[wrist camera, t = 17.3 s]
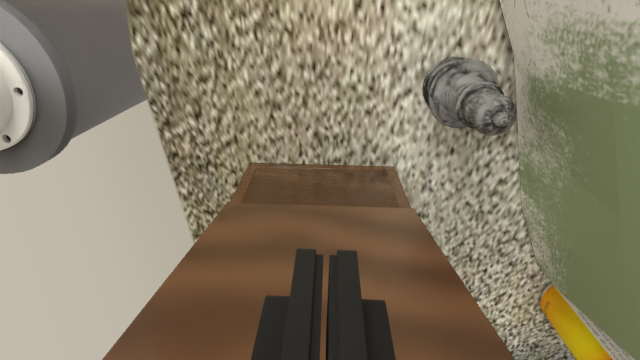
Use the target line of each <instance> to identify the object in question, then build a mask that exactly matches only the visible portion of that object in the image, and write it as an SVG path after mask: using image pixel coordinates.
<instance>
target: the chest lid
mask: <svg viewBox="0 0 640 360" xmlns="http://www.w3.org/2000/svg"><path fill="white" fill-rule="evenodd" d="M297 248H302V249H316V254H322V255H323V281H322V310H321V338H320V360H326V323H327V301H328V279H329V257H330V255H337V250H353V251H357V257H358V267H359V277H360V287H361V297H362V299H368V300H384V301H385V303H386V307H387V313H388V318H389V324H390V330H391V335H392V341H393V346H394V352H395V358H396V360H515V359H514V358H513V356H512V355H511V353H510V352H509V350H508V349H507V347H506V346H505V344H504V343H503V341H502V340H501V338H500V337H499V335H498V334H497V332H496V331H495V329H494V328H493V327H492V325H491V324H490V322H489V321H488V319H487V318H486V316H485V315H484V313H483V312H482V310H481V309H480V307H479V306H478V304H477V303H476V301H475V300H474V298H473V297H472V295H471V294H470V292H469V291H468V289H467V288H466V286H465V285H464V283H463V282H462V280H461V279H460V277H459V276H458V274H457V273H456V271H455V270H454V268H453V267H452V265H451V264H450V262H449V261H448V259H447V258H446V256H445V255H444V253H443V252H442V250H441V249H440V247H439V246H438V245H437V243H436V242H435V240H434V239H433V237H432V236H431V234H430V233H429V231H428V230H427V228H426V227H425V225H424V224H423V222H422V221H421V219H420V218H419V216H418V215H417V213H416V212H415V210H414V209H413V208H385V207H349V206H314V205H278V204H242V203H227V204H226V205H225V206H224V208H223V209H222V210H221V211H220V213H219V214H218V215H217V216H216V218H215V219H214V220H213V221H212V223H211V224H210V225H209V226H208V228H207V229H206V230H205V231H204V233H203V234H202V235H201V236H200V238H199V239H198V240H197V241H196V243H195V244H194V245H193V247H192V248H191V249H190V250H189V252H188V253H187V254H186V255H185V257H184V258H183V259H182V260H181V262H180V263H179V264H178V265H177V267H176V268H175V269H174V270H173V272H172V273H171V274H170V275H169V277H168V278H167V279H166V280H165V282H164V283H163V284H162V286H161V287H160V288H159V289H158V290H157V292H156V293H155V294H154V296H153V297H152V298H151V299H150V300H149V302H148V303H147V304H146V306H145V307H144V308H143V309H142V310H141V312H140V313H139V314H138V316H137V317H136V318H135V319H134V321H133V322H132V323H131V324H130V326H129V327H128V328H127V329H126V331H125V332H124V333H123V334H122V336H121V337H120V338H119V339H118V341H117V342H116V343H115V344H114V346H113V347H112V348H111V349H110V351H109V352H108V353H107V354H106V356H105V357H104V358H103V359H102V360H251V356H252V352H253V347H254V343H255V339H256V334H257V330H258V326H259V321H260V317H261V313H262V308H263V304H264V300H265V297H266V295H271V296H290V291H291V284H292V278H293V271H294V264H295V257H296V250H297Z"/></svg>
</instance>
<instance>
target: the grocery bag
mask: <svg viewBox="0 0 640 360" xmlns="http://www.w3.org/2000/svg"><path fill="white" fill-rule="evenodd" d="M499 1H500V4H501V8H502V12H503V16H504V19H505V23H506V27H507V31H508V34H509V38H510V42H511V46H512V49H513V53H514V64H515V85H516V105H517V125H518V146H519V165H520V184H521V204H522V211H523V215H524V218H525V222H526V225H527V229H528V233H529V236H530V240H531V244H532V247H533V251H534V254H535V258H536V262H537V265H538V266H539V267H540V269H541V270H542V271H543V272H544V273H545V275H546V276H547V277H548V278H549V279H550V281H551V282H552V283H553V284H554V285H555V287H556V288H557V289H558V290H559V291H560V293H561V294H562V295H564V296H565V297H566V298H567V299H568V300H569V301H570V302H571V303H572V304H574V305H575V306H576V307H577V308H578V309H579V310H580V311H581V312H582V313H583V314H585V315H586V316H587V317H588V318H589V319H590V320H591V321H592V322H593V323H595V324H596V325H597V326H598V327H599V328H600V329H601V330H602V331H603V332H604V333H606V334H607V335H608V336H609V337H610V338H611V339H612V340H613V341H614V342H615V343H617V344H618V345H619V346H620V347H621V348H622V349H623V350H624V351H625V352H627V353H628V354H629V355H630V356H631V357H632V358H634V359H635V360H640V0H499Z"/></svg>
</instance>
